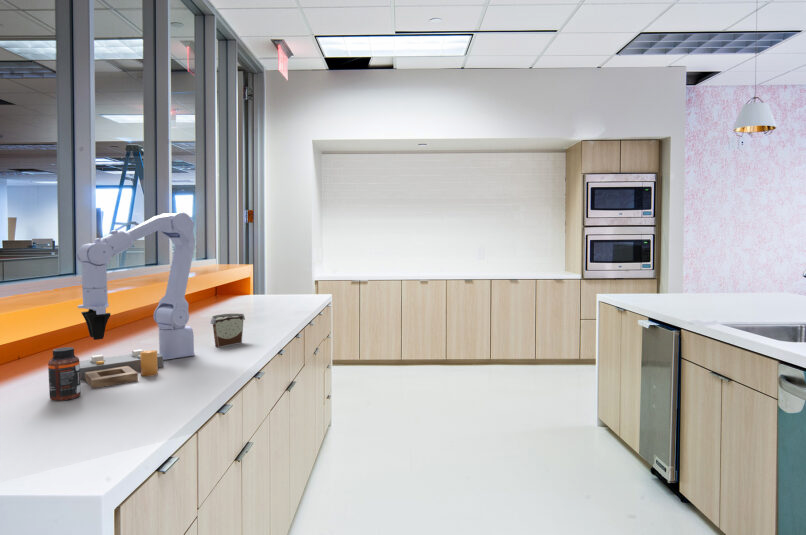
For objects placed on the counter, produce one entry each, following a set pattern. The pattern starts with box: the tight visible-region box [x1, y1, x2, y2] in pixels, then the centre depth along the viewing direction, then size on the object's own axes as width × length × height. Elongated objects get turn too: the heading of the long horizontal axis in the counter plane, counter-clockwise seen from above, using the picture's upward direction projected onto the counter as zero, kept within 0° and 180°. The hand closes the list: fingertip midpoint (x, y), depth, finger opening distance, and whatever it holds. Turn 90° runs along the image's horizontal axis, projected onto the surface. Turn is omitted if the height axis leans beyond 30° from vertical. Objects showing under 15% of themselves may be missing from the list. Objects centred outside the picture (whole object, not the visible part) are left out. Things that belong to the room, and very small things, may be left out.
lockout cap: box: [140, 349, 159, 377], centre depth 134 cm, size 4×4×6 cm
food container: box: [210, 313, 246, 349], centre depth 172 cm, size 12×6×10 cm, turn 145°
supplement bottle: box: [47, 346, 82, 402], centre depth 114 cm, size 6×6×11 cm
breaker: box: [131, 348, 145, 358], centre depth 142 cm, size 2×2×2 cm
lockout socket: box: [84, 366, 139, 389], centre depth 128 cm, size 10×10×2 cm
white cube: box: [90, 354, 105, 363], centre depth 135 cm, size 2×2×2 cm
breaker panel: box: [79, 352, 164, 381], centre depth 138 cm, size 20×9×4 cm, turn 131°
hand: (96, 338), depth 135 cm, fingers open, 4 cm apart
